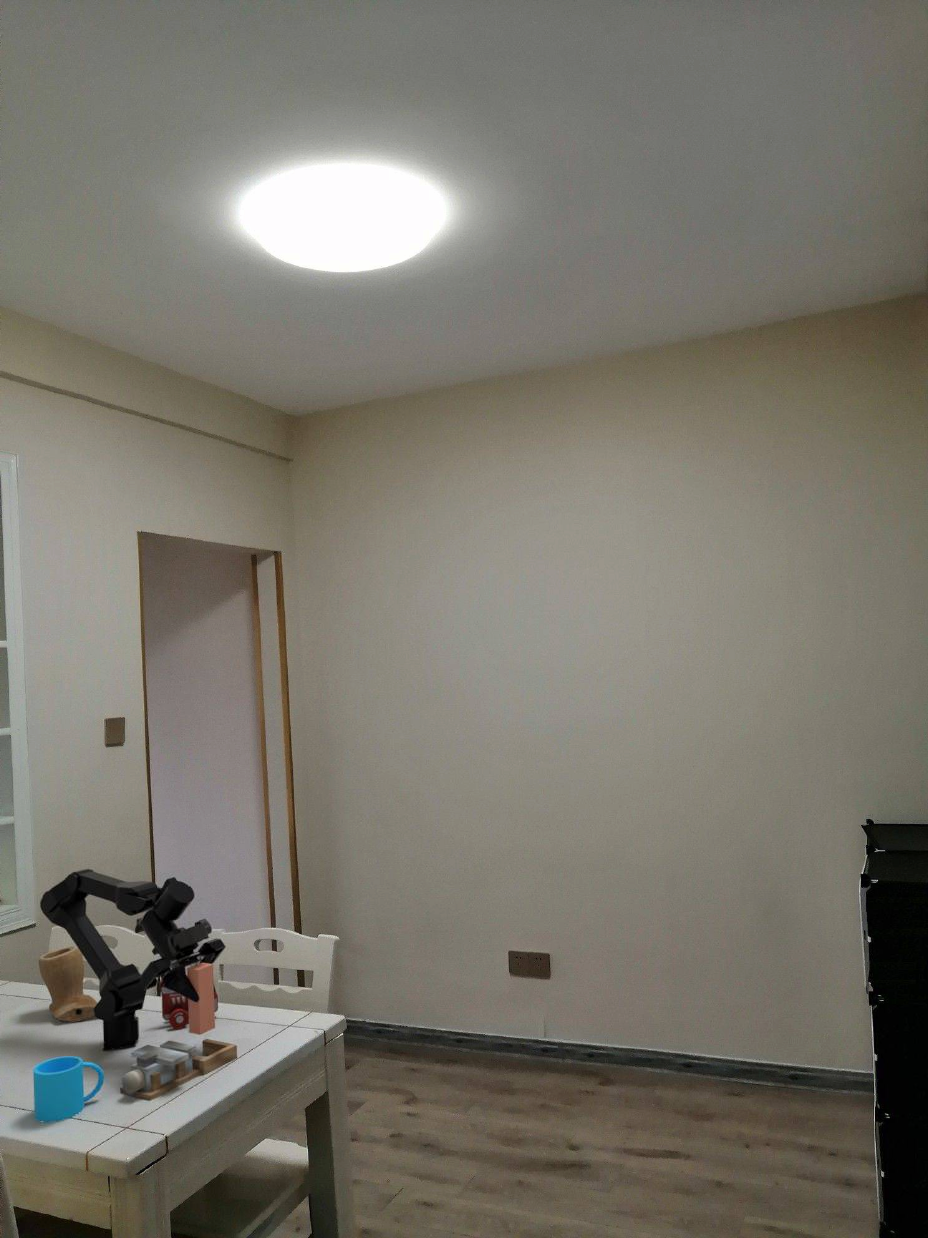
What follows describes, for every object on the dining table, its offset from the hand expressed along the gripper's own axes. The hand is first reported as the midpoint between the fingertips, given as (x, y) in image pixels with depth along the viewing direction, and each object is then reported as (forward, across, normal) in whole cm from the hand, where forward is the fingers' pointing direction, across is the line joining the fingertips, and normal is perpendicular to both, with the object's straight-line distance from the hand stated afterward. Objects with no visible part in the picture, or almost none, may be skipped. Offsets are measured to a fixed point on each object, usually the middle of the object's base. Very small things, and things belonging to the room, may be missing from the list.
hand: (206, 997), depth 197 cm
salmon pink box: (+4, 0, +6) cm, 7 cm away
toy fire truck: (-6, +16, +24) cm, 29 cm away
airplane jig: (+8, -7, +10) cm, 15 cm away
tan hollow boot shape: (-27, +8, +46) cm, 54 cm away
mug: (+3, -26, +15) cm, 30 cm away
